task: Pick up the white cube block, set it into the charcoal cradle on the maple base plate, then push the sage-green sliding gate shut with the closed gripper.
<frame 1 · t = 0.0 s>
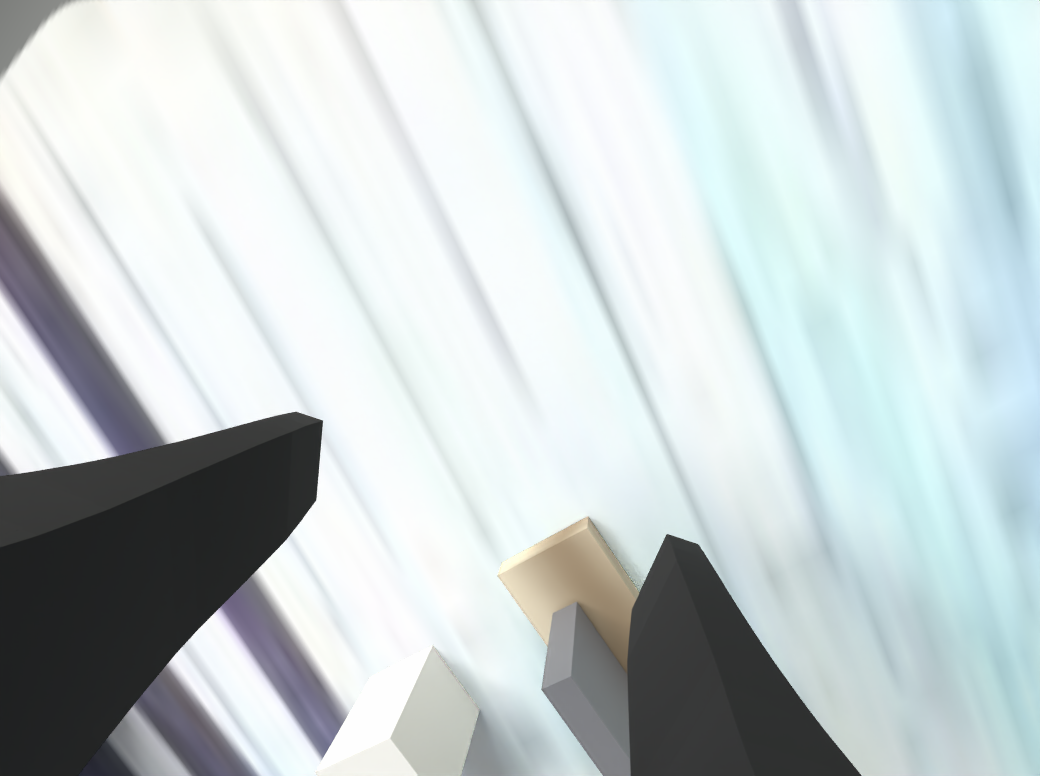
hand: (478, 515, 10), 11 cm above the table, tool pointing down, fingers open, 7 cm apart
white cube block: (424, 692, 24), on the table
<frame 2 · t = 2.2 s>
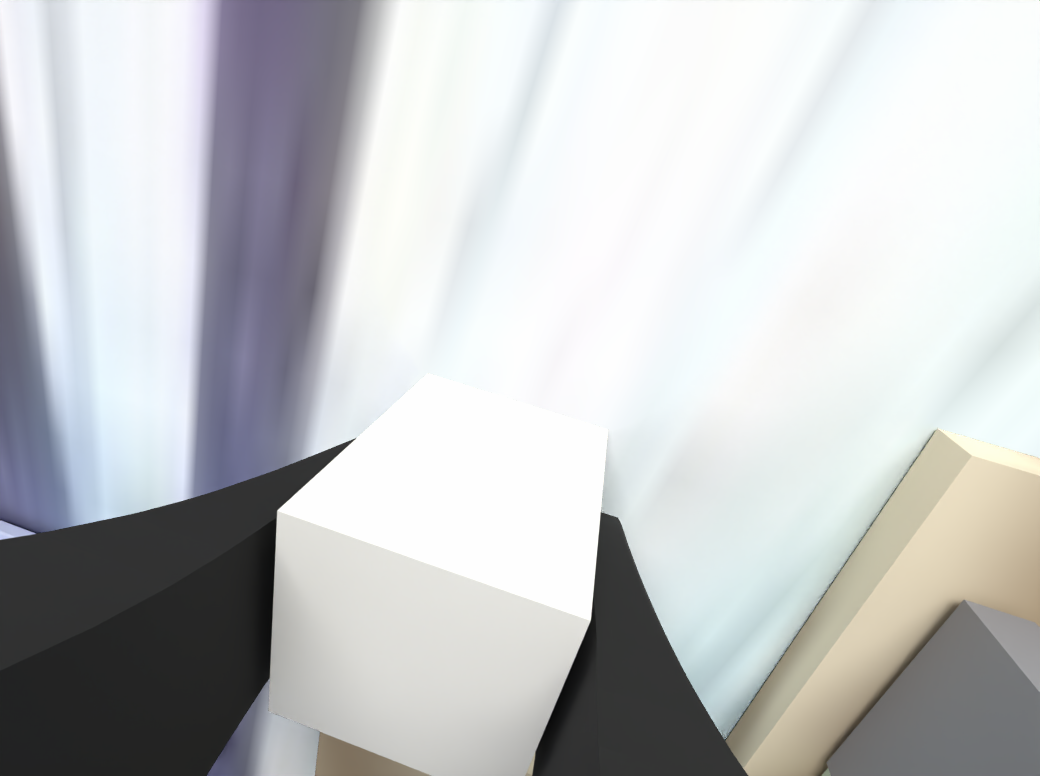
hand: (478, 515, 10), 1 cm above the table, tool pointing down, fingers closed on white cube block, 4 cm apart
white cube block: (496, 477, 11), on the table, touching gripper
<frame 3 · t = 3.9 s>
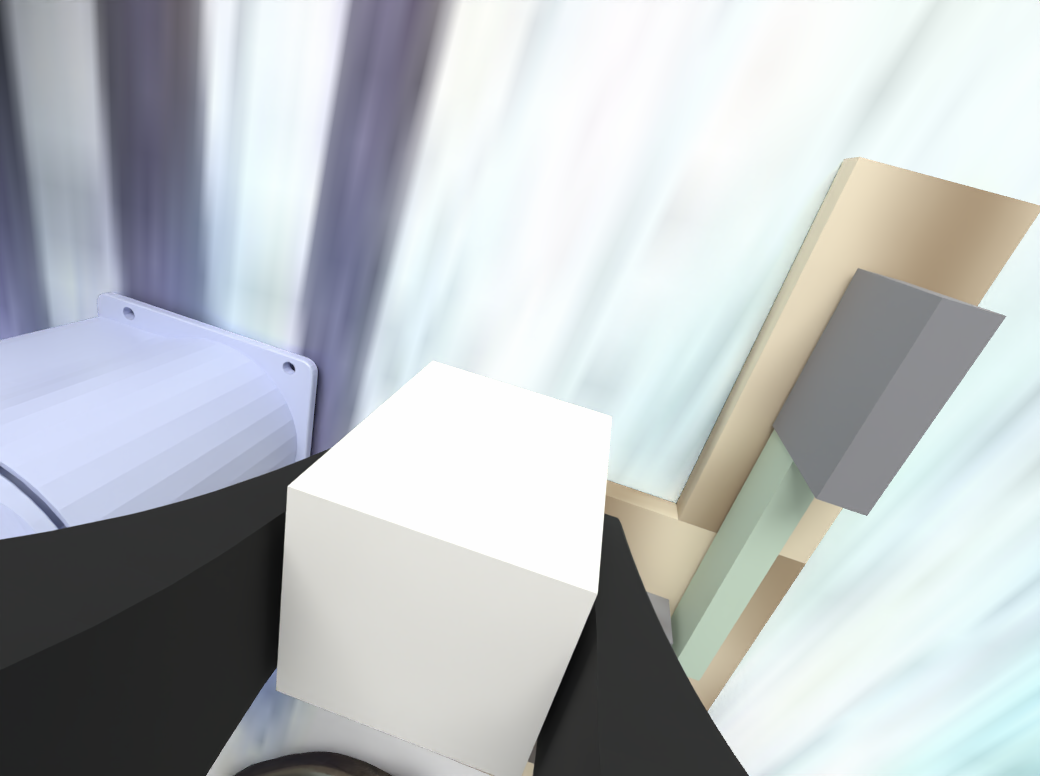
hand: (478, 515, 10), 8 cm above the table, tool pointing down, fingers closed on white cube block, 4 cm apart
beige board: (552, 626, 22), on the table
white cube block: (500, 465, 11), point 7 cm above the table, touching gripper
gate: (778, 520, 14), point 3 cm above the table, slide at 8.0 cm
when the fingers open (4 cm above the table, at t = 5.8 s): white cube block drops 1 cm, resting on beige board.
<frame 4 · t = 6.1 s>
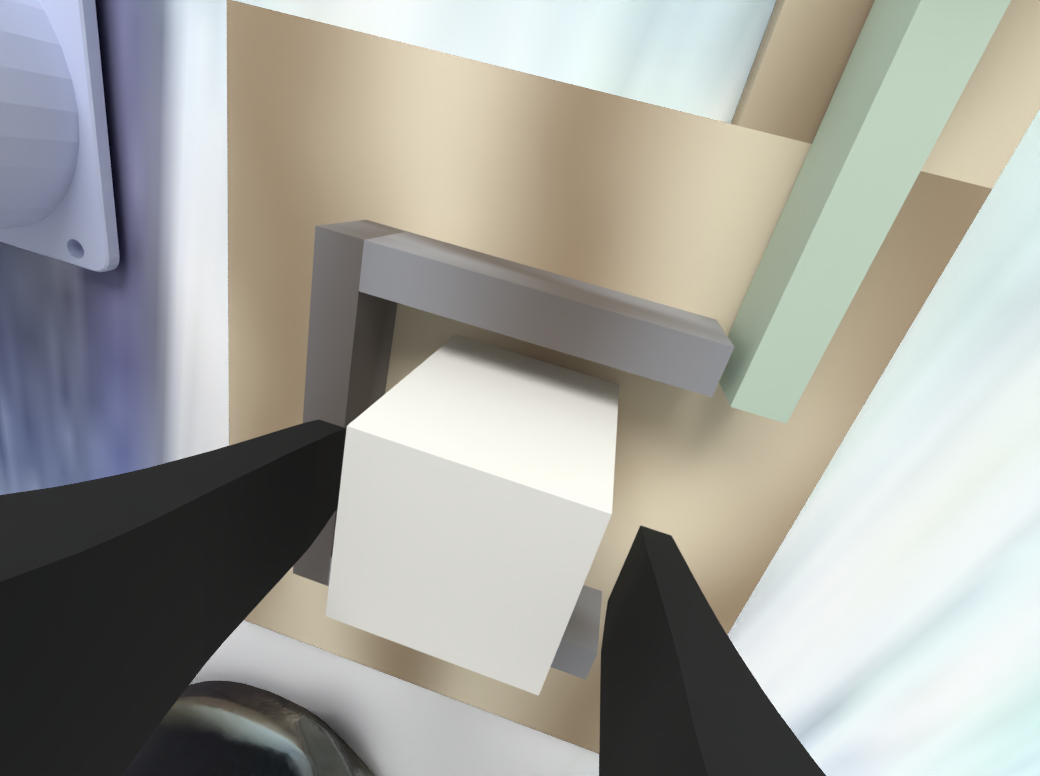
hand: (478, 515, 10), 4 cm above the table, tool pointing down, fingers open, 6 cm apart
beige board: (518, 429, 14), on the table
white cube block: (516, 431, 12), point 1 cm above the table, touching beige board
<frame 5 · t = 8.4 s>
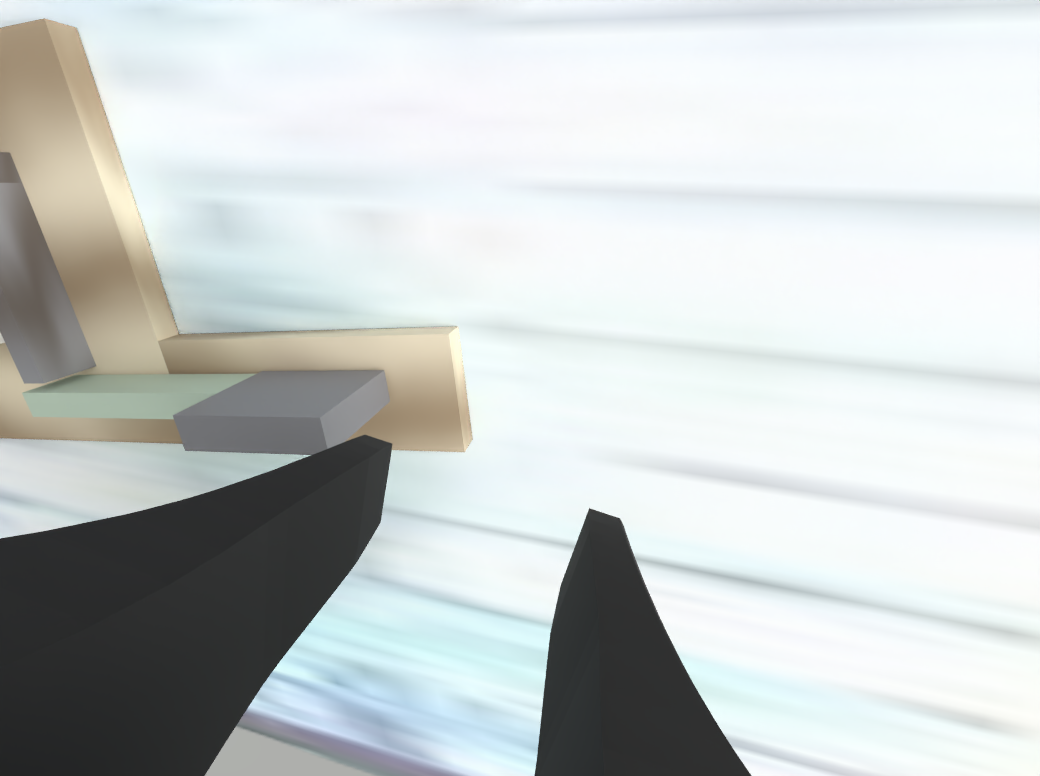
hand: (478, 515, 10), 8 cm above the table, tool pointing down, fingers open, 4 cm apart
beige board: (4, 281, 21), on the table
gate: (179, 406, 17), point 3 cm above the table, slide at 8.0 cm
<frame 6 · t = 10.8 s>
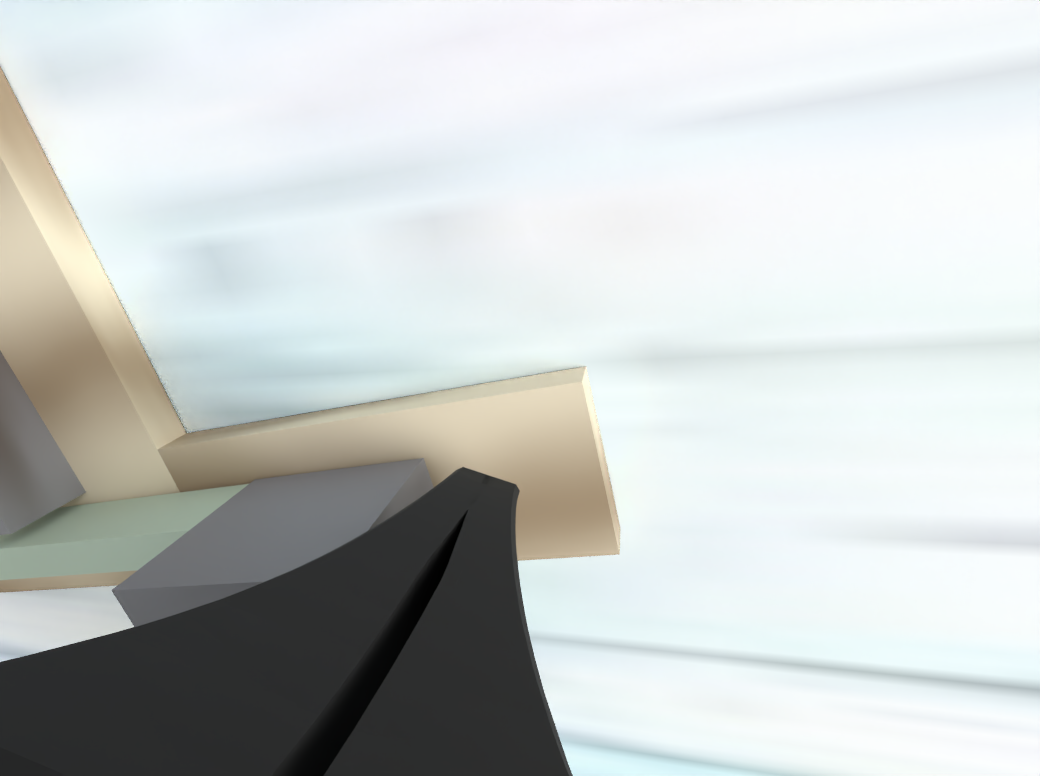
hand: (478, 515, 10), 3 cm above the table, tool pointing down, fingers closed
gate: (142, 552, 12), point 3 cm above the table, slide at 6.4 cm, touching gripper
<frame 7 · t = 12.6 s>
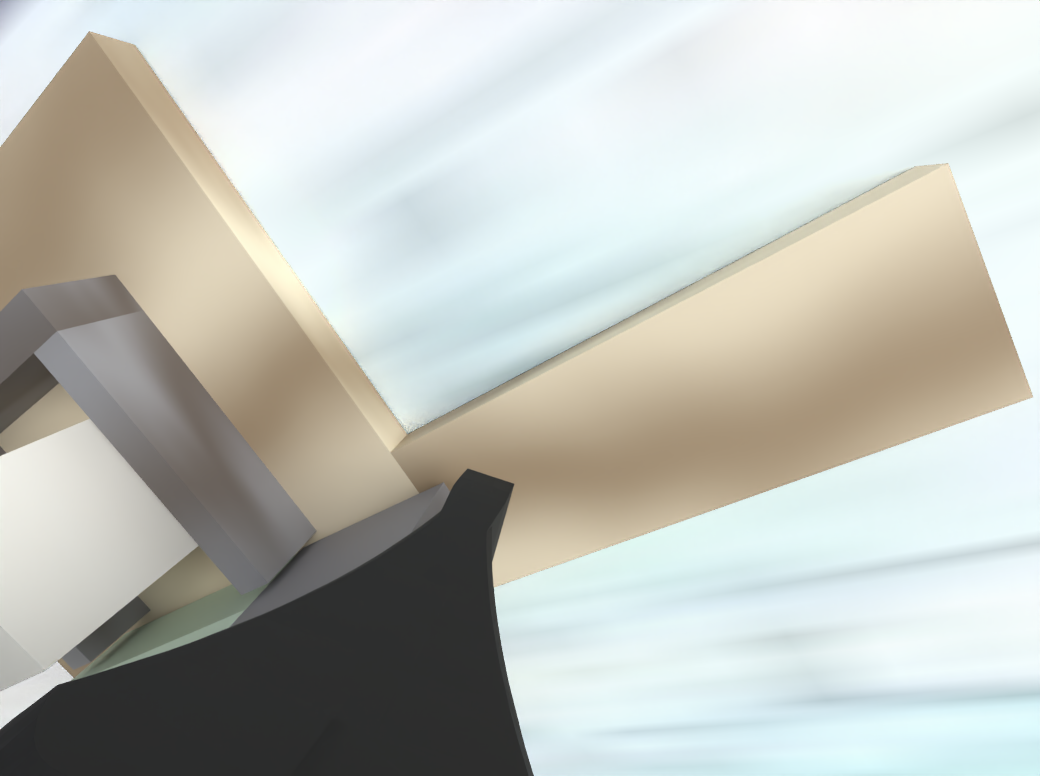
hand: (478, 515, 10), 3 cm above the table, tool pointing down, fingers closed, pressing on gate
beige board: (167, 471, 15), on the table
white cube block: (148, 484, 14), point 1 cm above the table, touching beige board
gate: (216, 641, 13), point 3 cm above the table, slide at -0.6 cm, touching gripper
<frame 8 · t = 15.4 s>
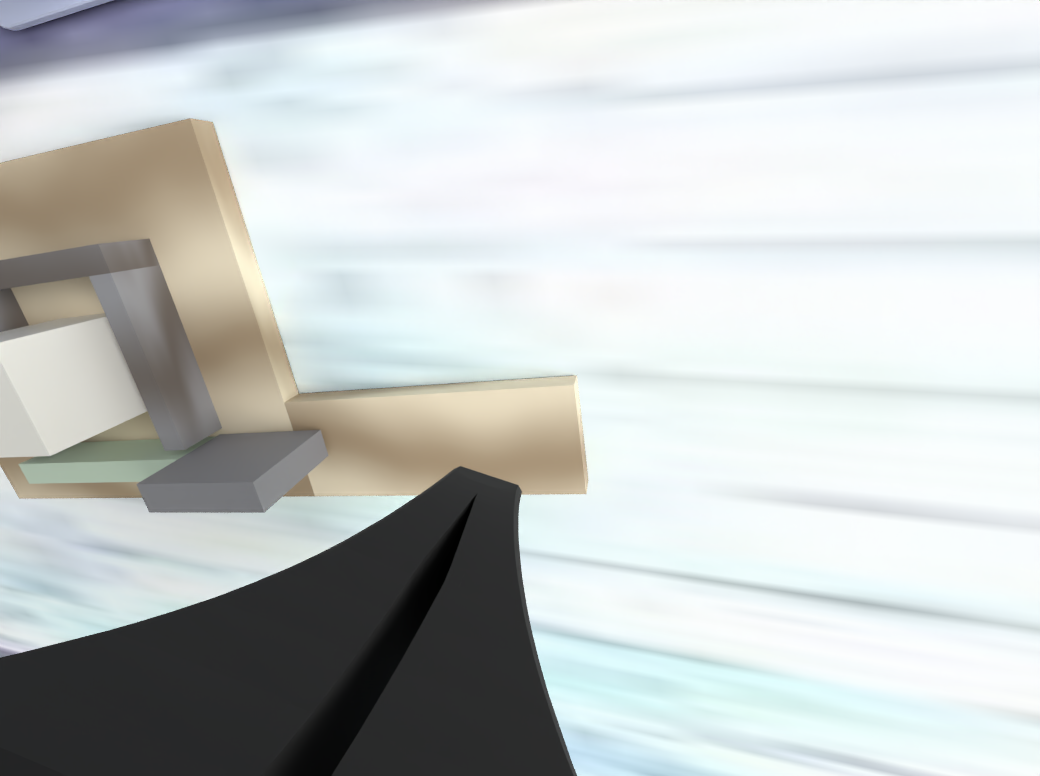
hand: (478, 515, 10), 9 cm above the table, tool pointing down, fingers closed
beige board: (129, 352, 22), on the table
white cube block: (117, 359, 21), point 1 cm above the table, touching beige board
gate: (148, 471, 20), point 3 cm above the table, slide at 0.0 cm
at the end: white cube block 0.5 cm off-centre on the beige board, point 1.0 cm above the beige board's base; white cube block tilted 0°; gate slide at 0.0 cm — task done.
